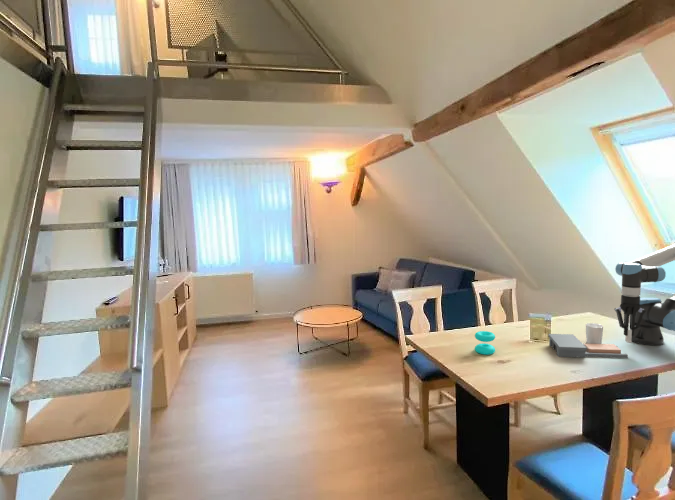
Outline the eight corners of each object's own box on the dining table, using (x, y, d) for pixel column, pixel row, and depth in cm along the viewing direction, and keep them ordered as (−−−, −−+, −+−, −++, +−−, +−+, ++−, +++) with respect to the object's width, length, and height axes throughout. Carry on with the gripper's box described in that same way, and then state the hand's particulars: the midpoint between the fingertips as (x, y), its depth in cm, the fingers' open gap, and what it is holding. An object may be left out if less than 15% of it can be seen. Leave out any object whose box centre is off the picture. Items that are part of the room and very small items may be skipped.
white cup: (605, 346, 214) (605, 327, 213) (588, 345, 216) (589, 327, 214) (599, 341, 222) (599, 323, 220) (582, 340, 223) (583, 322, 222)
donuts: (478, 329, 220) (497, 332, 214) (478, 347, 221) (497, 350, 215) (471, 334, 212) (491, 337, 206) (472, 353, 213) (491, 356, 207)
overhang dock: (613, 345, 214) (613, 335, 213) (631, 360, 194) (631, 349, 194) (548, 343, 221) (548, 333, 220) (559, 358, 202) (559, 346, 201)
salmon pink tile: (613, 349, 208) (614, 344, 208) (620, 355, 201) (621, 349, 200) (583, 348, 212) (583, 343, 211) (588, 354, 204) (589, 348, 204)
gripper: (642, 293, 202) (639, 340, 205) (612, 293, 205) (610, 338, 208) (649, 297, 195) (647, 345, 198) (618, 296, 198) (616, 343, 201)
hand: (628, 341), depth 203 cm, fingers closed
